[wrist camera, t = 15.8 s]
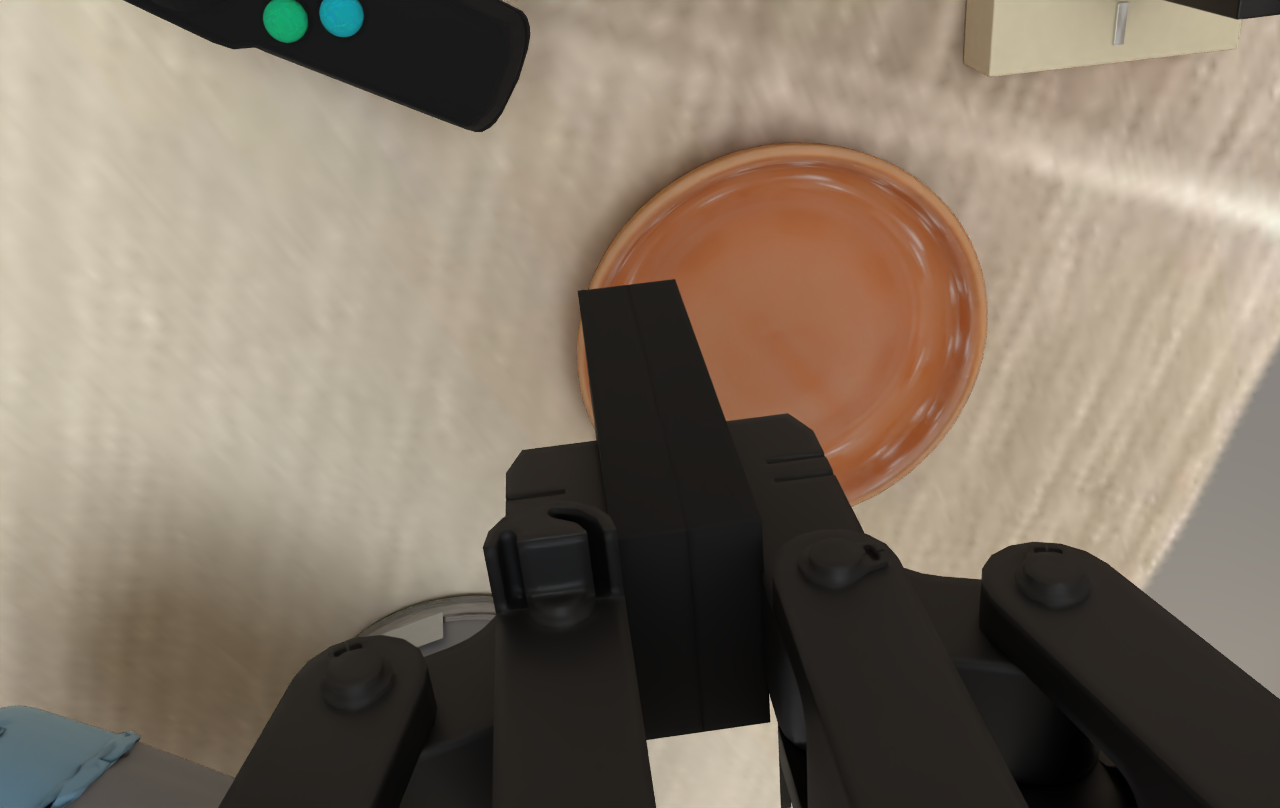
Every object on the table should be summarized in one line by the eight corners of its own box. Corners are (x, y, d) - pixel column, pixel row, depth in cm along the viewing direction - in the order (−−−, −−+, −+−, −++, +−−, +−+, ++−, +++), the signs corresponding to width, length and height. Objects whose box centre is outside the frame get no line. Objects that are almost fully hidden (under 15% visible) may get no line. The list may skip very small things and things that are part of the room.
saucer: (495, 369, 44) (495, 404, 41) (745, 37, 38) (763, 53, 36) (789, 546, 49) (805, 586, 47) (1041, 278, 44) (1074, 306, 42)
